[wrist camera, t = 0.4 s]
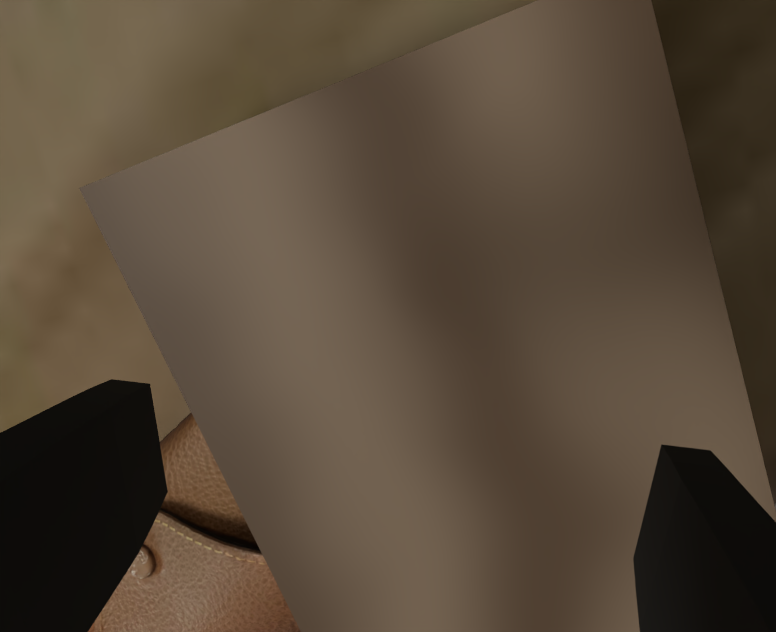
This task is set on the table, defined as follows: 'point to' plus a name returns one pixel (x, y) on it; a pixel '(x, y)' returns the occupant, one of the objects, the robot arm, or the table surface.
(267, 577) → the sunglasses case
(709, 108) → the table surface
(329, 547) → the miniature wooden table
